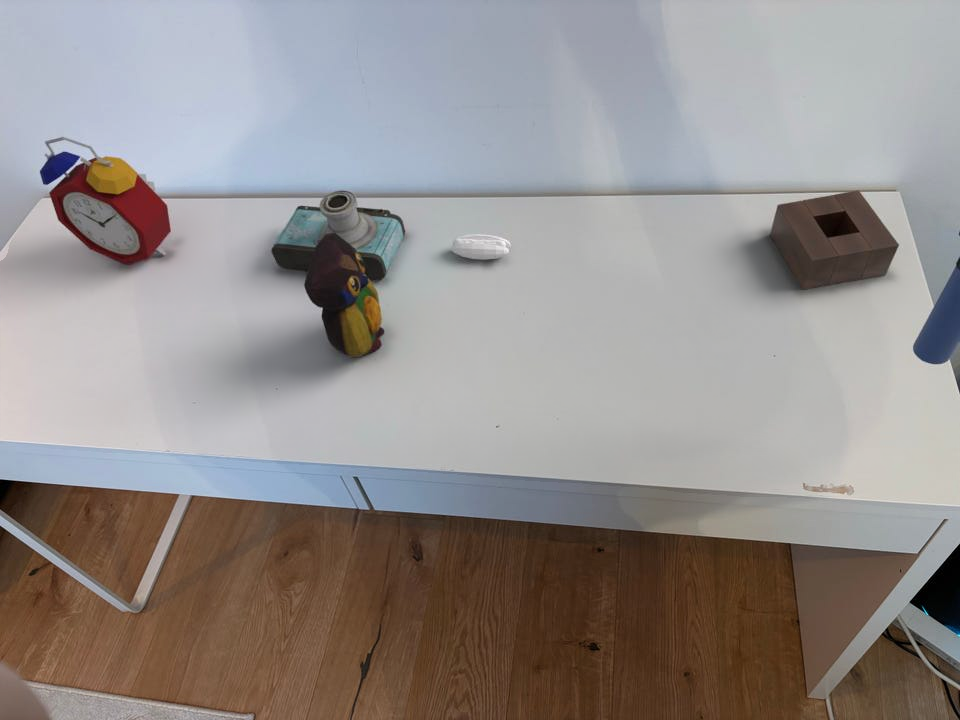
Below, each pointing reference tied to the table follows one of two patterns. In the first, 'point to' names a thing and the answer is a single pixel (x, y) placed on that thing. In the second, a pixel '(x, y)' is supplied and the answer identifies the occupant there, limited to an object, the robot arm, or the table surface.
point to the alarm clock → (107, 205)
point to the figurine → (344, 297)
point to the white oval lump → (480, 246)
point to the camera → (340, 233)
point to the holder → (832, 239)
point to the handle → (941, 325)
